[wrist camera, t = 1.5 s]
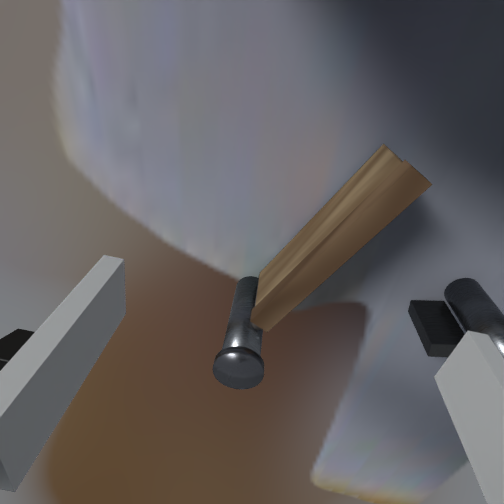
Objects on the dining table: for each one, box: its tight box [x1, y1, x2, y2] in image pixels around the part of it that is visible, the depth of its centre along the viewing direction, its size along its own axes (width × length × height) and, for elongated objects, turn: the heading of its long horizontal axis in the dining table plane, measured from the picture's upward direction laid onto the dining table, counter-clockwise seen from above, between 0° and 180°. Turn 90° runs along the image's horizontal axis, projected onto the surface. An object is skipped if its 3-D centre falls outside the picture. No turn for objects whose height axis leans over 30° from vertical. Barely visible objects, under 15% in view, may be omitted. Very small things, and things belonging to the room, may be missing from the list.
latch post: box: [408, 278, 504, 358], centre depth 29 cm, size 5×7×11 cm
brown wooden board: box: [250, 144, 432, 332], centre depth 28 cm, size 2×17×7 cm, turn 143°
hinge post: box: [213, 276, 264, 389], centre depth 31 cm, size 4×4×11 cm
